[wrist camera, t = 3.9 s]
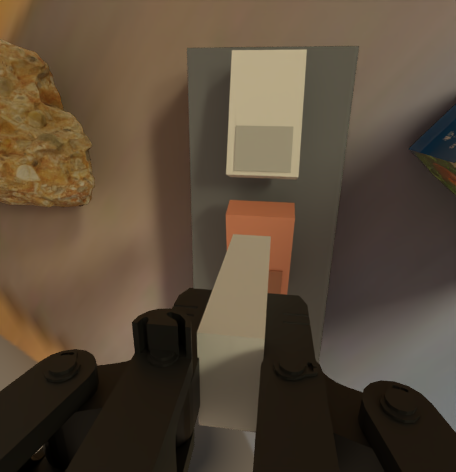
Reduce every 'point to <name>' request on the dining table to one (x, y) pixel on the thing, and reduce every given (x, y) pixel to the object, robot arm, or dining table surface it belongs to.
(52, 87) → the rock
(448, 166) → the blue food package
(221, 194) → the power strip
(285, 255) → the block
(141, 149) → the dining table surface
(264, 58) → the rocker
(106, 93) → the dining table surface
